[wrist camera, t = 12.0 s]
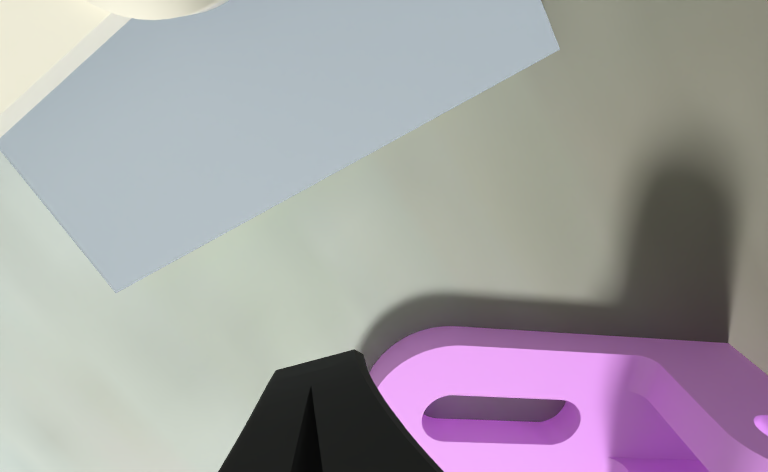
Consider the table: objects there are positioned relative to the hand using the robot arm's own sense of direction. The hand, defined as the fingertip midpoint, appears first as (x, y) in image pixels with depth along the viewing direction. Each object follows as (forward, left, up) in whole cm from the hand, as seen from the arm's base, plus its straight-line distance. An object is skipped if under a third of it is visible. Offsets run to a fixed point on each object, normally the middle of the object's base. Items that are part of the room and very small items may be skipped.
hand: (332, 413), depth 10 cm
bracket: (-3, +10, -10) cm, 15 cm away
